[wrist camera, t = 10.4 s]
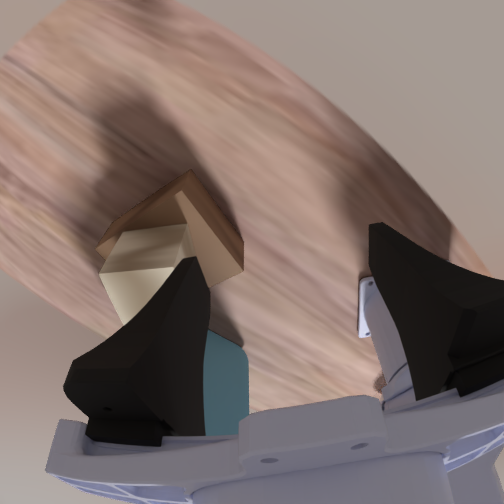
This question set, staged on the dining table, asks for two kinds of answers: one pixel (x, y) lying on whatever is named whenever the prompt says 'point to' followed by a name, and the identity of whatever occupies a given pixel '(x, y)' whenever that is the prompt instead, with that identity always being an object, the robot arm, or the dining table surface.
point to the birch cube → (143, 265)
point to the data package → (224, 386)
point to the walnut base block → (199, 222)
